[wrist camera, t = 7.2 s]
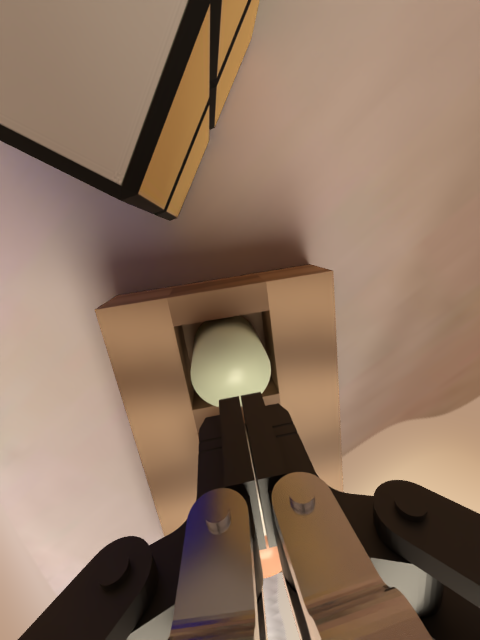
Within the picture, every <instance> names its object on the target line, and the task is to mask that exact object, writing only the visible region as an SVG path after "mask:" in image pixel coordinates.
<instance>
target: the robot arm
mask: <svg viewBox="0 0 480 640" xmlns="http://www.w3.org/2000/svg"><path fill="white" fill-rule="evenodd" d="M241 402H242V407H243V413H244V419H245V425H246V431H247V436H246V431H245V426H244V420H243V415H242V410H241V405H240V400H239V396H236V397H231V398H226V399H220V400H219V413H220V415H216V416H211V417H206V418H205V420H204V422H203V423H202V425H201V427H200V429H199V450H198V452H199V454H198V476H197V498H196V502H195V503H194V504H193V506H192V508H191V509H190V512H189V514H188V518H187V520H186V521H185V522H184V523H183V524H182V525H181V526H180V527H179V528H178V529H176V530H175V531H174V532H172V533H170V534H169V535H167V536H165V537H163V538H162V539H160V540H158V541H156V542H155V543H153V544H151V545H148V544H147V542H146V541H145V540H143V539H142V538H140V537H136V536H128V537H123V538H120V539H117V540H115V541H113V542H112V543H110V544H108V545H107V546H106V547H104V548H103V549H102V550H101V551H100V552H99V553H98V554H97V555H96V556H95V557H94V558H93V559H92V560H91V561H90V562H89V563H88V564H87V565H86V566H85V568H84V569H83V570H82V571H81V572H80V573H79V574H78V575H77V576H76V577H75V578H74V579H73V581H72V582H71V583H70V584H69V585H68V586H67V587H66V588H65V589H64V590H63V591H62V592H61V594H60V595H59V596H58V597H57V598H56V599H55V600H54V601H53V602H52V603H51V604H50V605H49V607H48V608H47V609H46V610H45V611H44V612H43V613H42V614H41V615H40V616H39V618H37V620H36V621H35V622H34V623H33V624H32V625H31V626H30V627H29V628H28V629H27V630H26V632H25V633H24V634H23V635H22V636H21V637H20V638H19V639H18V640H268V637H267V627H266V616H265V605H264V595H263V587H262V586H263V571H262V565H261V559H260V552H259V550H263V549H267V548H266V542H265V536H264V531H263V525H262V519H261V513H260V507H259V501H258V495H257V489H258V494H259V499H260V504H261V509H262V514H263V519H264V525H265V530H266V535H267V540H268V545H269V548H271V547H275V546H277V549H278V553H279V558H280V562H281V567H282V573H283V580H284V585H285V588H286V592H287V595H288V598H289V602H290V606H291V609H292V613H293V616H294V620H295V623H296V627H297V630H298V634H299V637H300V640H480V514H479V513H476V512H474V511H472V510H470V509H468V508H466V507H464V506H462V505H460V504H458V503H455V502H453V501H451V500H449V499H447V498H445V497H443V496H441V495H439V494H437V493H435V492H432V491H430V490H428V489H426V488H424V487H422V486H420V485H417V484H415V483H412V482H408V481H403V480H392V481H387V482H385V483H383V484H381V485H380V486H379V487H378V488H377V489H376V491H375V493H374V496H366V495H357V494H349V493H344V492H340V491H338V490H335V489H333V488H331V487H330V486H328V485H327V484H326V483H325V482H324V481H323V480H322V479H320V478H319V476H318V475H317V474H316V472H315V470H314V467H313V465H312V463H311V461H310V459H309V456H308V454H307V452H306V450H305V447H304V445H303V443H302V441H301V439H300V436H299V434H298V433H297V430H296V427H295V425H294V424H293V421H292V418H291V416H290V414H289V412H288V411H287V410H286V409H285V408H284V407H282V406H281V405H280V404H279V403H277V404H272V405H267V406H265V403H264V400H263V397H262V394H261V392H256V393H251V394H246V395H241ZM247 437H248V441H247ZM248 442H249V447H248ZM249 448H250V452H249ZM250 453H251V457H250ZM251 458H252V462H251ZM252 463H253V467H252ZM253 468H254V473H255V478H256V483H255V478H254V473H253ZM256 484H257V489H256Z"/></svg>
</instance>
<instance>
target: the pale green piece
mask: <svg viewBox="0 0 480 640" xmlns="http://www.w3.org/2000/svg"><path fill="white" fill-rule="evenodd" d="M270 375H271V365H270V360H269V358H268V355H267V353H266V351H265V349H264V347H263V345H262V343H261V341H260V339H259V337H258V335H257V333H256V331H255V330H254V328H253V326H252V325H251V324H250V323H249V322H248V321H247V320H246V319H244V318H243V317H241V316H233V317H227V318H221V319H215V320H209V321H205V322H204V323H203V324H202V325H201V326H200V327H199V329H198V331H197V333H196V336H195V341H194V348H193V356H192V364H191V381H192V385H193V387H194V389H195V391H196V392H197V394H198V395H199V396H200V397H201V398H202V399H203V400H205V401H206V402H208V403H209V404H211V405H214V406H217V407H219V400H220V399H226V398H231V397H236V396H239V400H240V405H241V406H242V402H241V395H246V394H251V393H256V392H261V394H262V393H263V391H264V390H265V389H266V387H267V385H268V382H269V380H270Z"/></svg>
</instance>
